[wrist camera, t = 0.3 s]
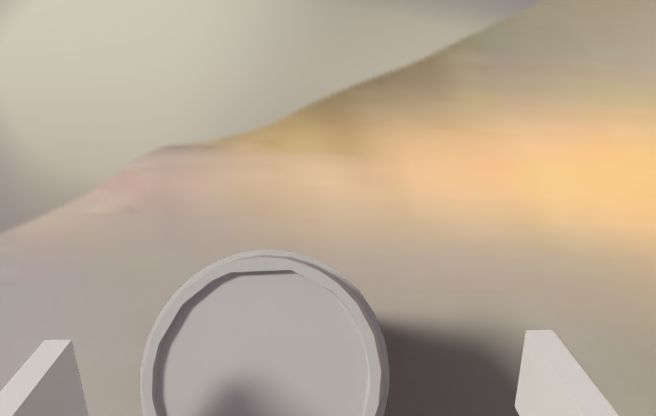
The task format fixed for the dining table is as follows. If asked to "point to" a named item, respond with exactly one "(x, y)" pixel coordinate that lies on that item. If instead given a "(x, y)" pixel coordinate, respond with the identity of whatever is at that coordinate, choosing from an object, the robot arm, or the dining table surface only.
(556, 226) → the dining table surface
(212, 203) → the dining table surface
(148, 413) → the disposable coffee cup
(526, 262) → the dining table surface
